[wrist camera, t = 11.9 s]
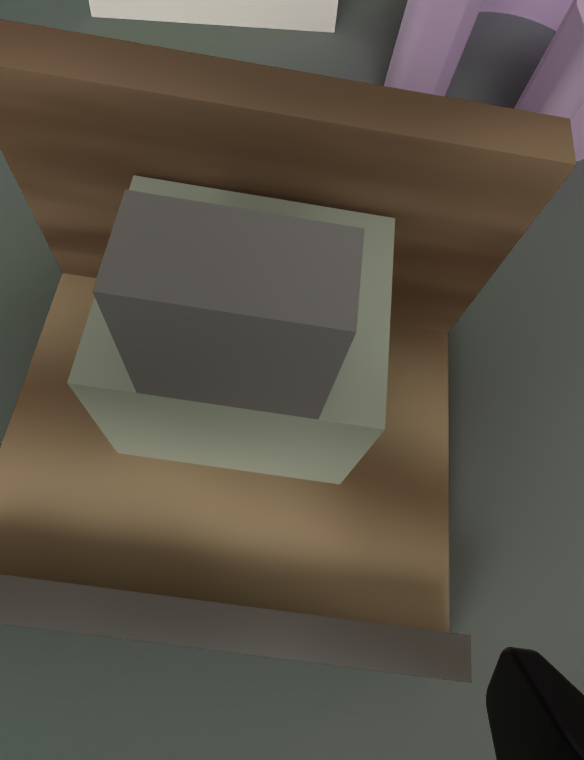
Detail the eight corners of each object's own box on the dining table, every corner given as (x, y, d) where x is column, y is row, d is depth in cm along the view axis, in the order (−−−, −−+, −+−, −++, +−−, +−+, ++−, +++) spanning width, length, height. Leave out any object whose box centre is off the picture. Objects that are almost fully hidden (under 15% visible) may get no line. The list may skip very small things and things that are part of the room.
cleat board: (437, 672, 16) (655, 736, 8) (-41, 612, 15) (-362, 611, 7) (438, 312, 21) (570, 118, 13) (81, 256, 20) (-21, 15, 12)
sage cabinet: (339, 484, 17) (452, 347, 8) (117, 452, 17) (-10, 275, 8) (353, 321, 19) (450, 82, 11) (159, 290, 19) (98, 20, 10)
